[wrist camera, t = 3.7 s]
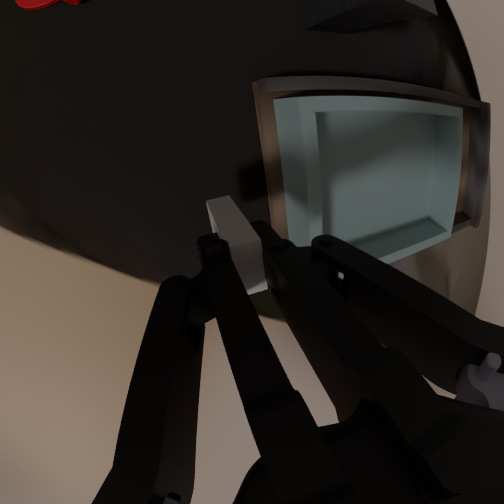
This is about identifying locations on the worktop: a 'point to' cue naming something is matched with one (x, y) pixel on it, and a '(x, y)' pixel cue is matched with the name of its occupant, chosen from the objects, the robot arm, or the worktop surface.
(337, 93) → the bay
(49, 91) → the worktop surface
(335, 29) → the dark grey block
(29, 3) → the tow hook
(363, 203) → the crate
